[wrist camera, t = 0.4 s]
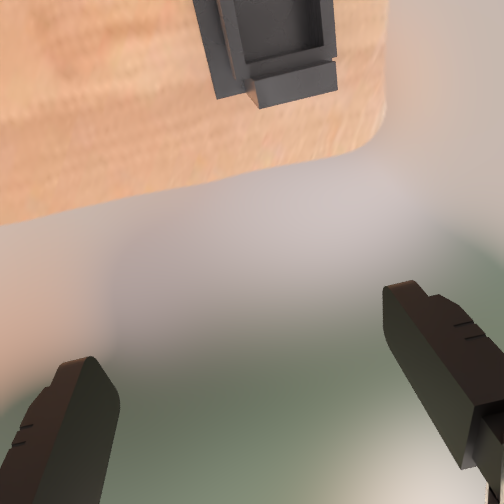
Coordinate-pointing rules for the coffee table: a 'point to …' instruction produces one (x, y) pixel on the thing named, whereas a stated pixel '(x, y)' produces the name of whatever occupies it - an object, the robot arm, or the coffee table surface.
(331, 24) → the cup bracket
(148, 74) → the coffee table surface
